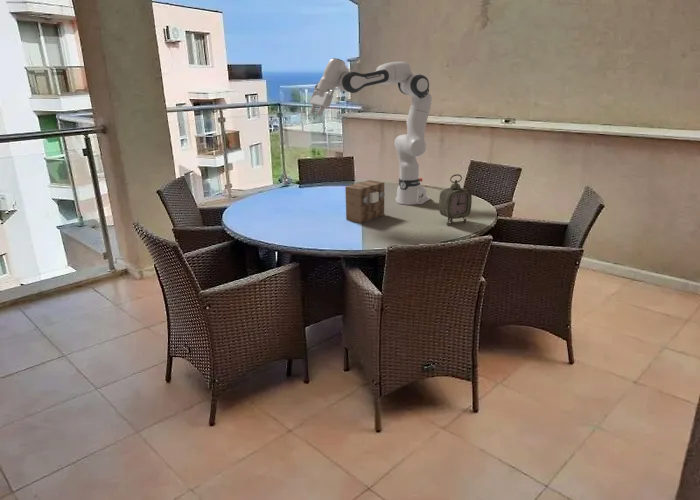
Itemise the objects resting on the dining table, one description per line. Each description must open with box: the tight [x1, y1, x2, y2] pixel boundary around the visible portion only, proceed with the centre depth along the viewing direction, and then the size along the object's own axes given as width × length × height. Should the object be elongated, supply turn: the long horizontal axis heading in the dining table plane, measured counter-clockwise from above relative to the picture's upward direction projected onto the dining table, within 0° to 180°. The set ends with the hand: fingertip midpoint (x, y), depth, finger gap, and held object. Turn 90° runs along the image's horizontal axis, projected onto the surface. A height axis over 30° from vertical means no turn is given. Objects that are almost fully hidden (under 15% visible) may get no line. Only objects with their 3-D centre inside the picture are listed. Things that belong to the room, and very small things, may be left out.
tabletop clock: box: [438, 174, 473, 226], centre depth 244 cm, size 14×9×25 cm, turn 115°
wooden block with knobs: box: [345, 179, 386, 224], centre depth 257 cm, size 20×12×18 cm, turn 138°
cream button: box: [369, 191, 379, 203], centre depth 254 cm, size 5×4×5 cm
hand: (315, 114), depth 252 cm, fingers open, 8 cm apart
